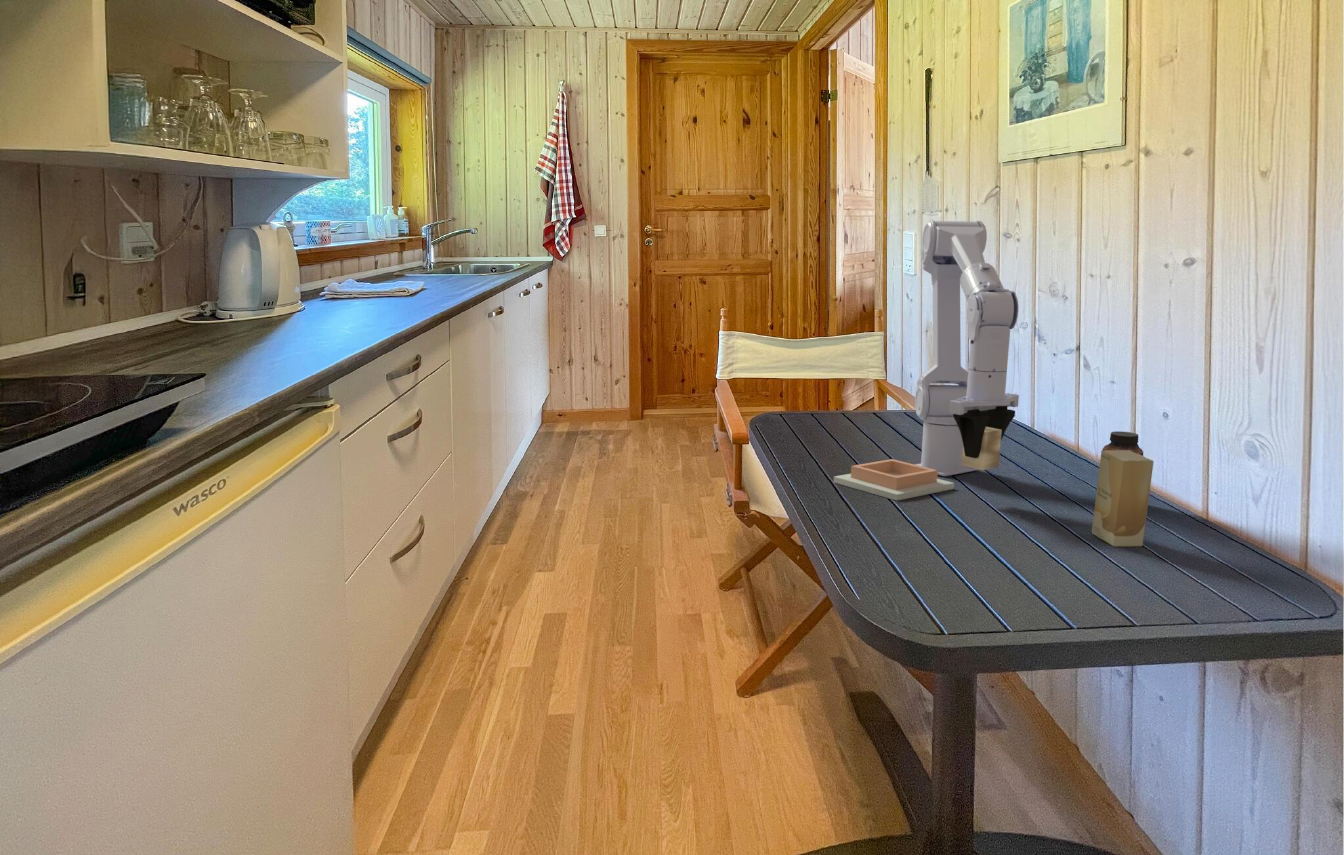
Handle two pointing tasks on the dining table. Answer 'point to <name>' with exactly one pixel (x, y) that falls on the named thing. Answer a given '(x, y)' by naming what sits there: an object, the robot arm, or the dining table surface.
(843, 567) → the dining table surface
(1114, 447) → the supplement bottle
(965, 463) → the maple peg
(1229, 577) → the dining table surface
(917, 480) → the collar board
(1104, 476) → the skincare box
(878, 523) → the dining table surface
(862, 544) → the dining table surface
